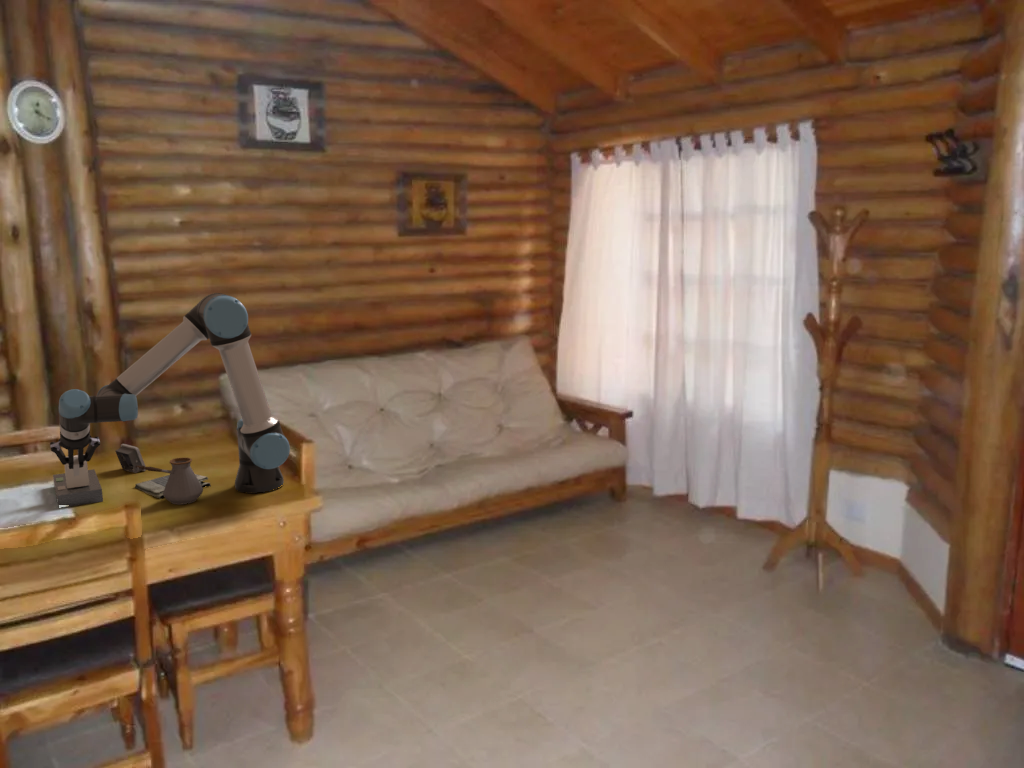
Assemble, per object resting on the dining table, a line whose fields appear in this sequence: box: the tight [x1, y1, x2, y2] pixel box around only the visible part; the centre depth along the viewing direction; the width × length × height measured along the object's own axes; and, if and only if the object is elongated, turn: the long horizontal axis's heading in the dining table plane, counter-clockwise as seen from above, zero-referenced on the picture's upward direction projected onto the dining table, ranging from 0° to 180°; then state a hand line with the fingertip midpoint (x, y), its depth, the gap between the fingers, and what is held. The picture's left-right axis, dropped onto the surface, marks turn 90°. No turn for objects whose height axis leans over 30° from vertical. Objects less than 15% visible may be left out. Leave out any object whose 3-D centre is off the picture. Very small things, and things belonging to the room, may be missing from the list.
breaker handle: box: [64, 453, 89, 488], centre depth 251 cm, size 4×6×9 cm, turn 122°
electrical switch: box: [115, 443, 147, 474], centre depth 280 cm, size 9×5×9 cm, turn 57°
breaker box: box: [52, 468, 104, 507], centre depth 257 cm, size 24×12×4 cm, turn 32°
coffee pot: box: [132, 457, 204, 505], centre depth 246 cm, size 21×12×15 cm, turn 149°
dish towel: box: [134, 473, 212, 500], centre depth 264 cm, size 19×18×3 cm
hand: (76, 471), depth 247 cm, fingers closed
